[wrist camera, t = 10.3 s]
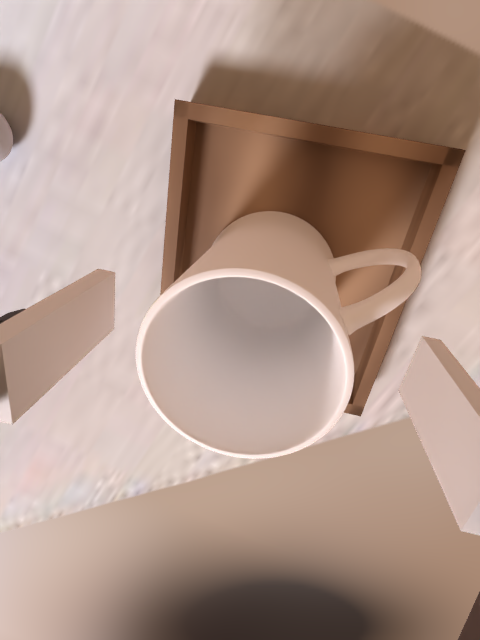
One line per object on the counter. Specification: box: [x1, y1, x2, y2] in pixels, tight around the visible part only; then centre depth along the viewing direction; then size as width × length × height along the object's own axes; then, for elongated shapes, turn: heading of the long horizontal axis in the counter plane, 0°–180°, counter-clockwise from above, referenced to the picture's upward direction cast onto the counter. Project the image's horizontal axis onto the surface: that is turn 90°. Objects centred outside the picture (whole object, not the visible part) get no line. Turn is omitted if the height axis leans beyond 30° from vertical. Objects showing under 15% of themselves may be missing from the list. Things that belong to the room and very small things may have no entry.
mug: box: [136, 211, 421, 458], centre depth 18 cm, size 12×8×12 cm
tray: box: [160, 99, 465, 416], centre depth 23 cm, size 15×17×2 cm
